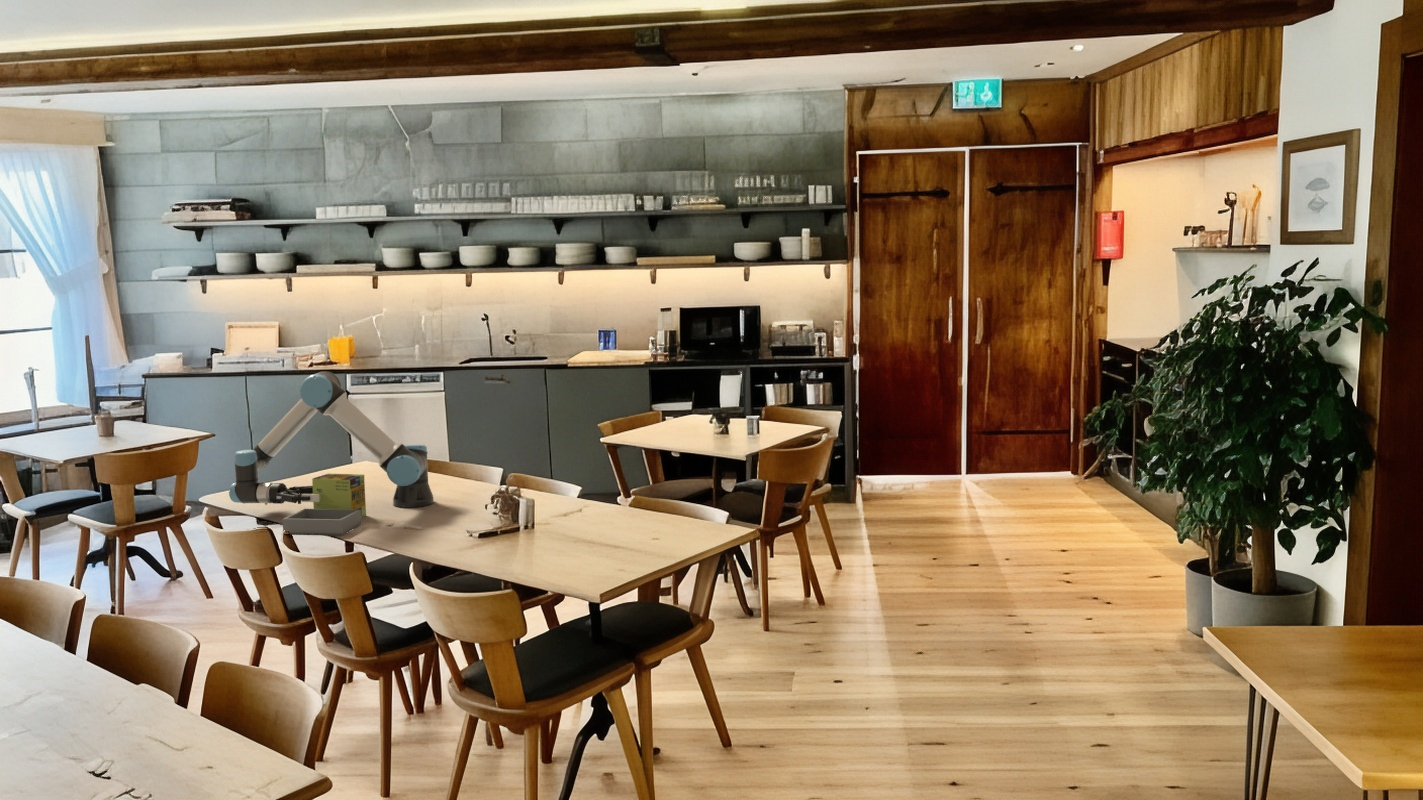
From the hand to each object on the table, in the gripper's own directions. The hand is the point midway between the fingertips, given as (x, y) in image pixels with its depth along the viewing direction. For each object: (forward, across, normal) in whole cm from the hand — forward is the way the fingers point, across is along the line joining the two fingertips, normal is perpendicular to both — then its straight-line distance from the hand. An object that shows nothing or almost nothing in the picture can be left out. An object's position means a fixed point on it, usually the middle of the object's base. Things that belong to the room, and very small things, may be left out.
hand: (328, 494), depth 394 cm
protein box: (+4, 0, -9) cm, 10 cm away
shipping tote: (+6, +18, -9) cm, 21 cm away
